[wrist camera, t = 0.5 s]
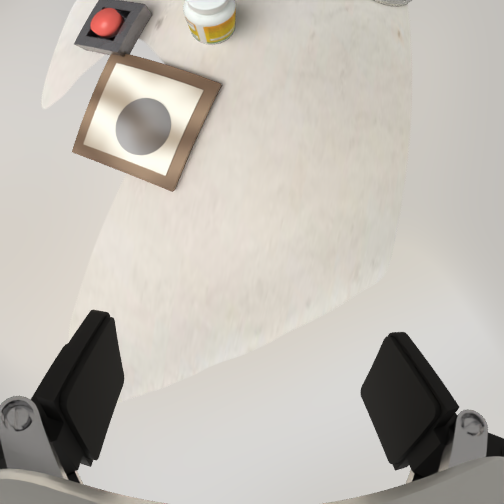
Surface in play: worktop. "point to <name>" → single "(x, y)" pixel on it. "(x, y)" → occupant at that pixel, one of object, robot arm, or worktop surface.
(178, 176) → the brown bordered square board
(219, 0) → the supplement bottle
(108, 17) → the button
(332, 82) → the worktop surface
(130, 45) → the button housing
